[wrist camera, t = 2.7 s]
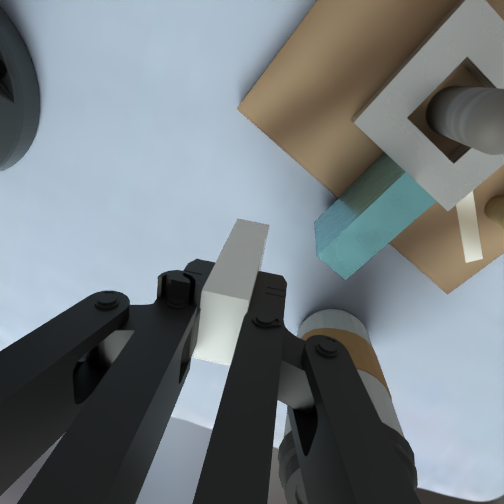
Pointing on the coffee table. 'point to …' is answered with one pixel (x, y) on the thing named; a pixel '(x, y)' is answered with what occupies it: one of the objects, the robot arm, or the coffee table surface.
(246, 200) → the coffee table surface
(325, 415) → the robot arm
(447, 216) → the post base
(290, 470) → the coffee cup
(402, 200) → the flange
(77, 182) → the coffee table surface
